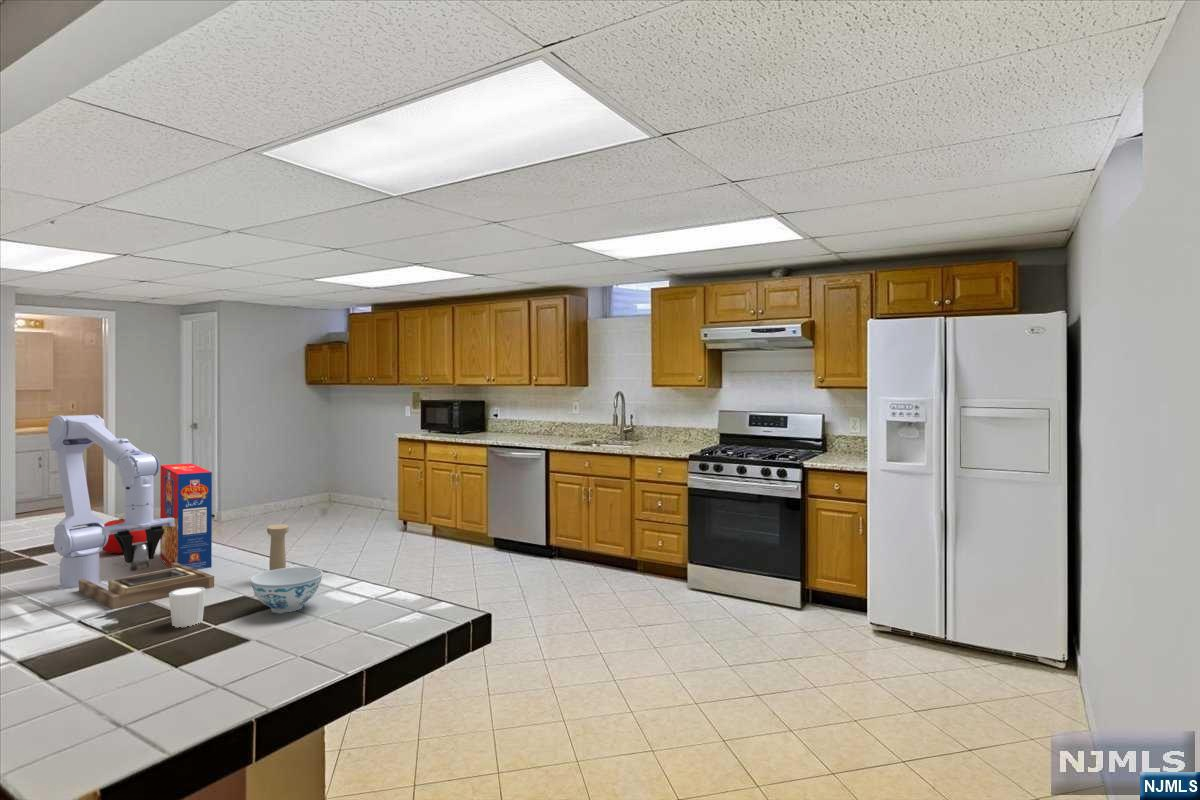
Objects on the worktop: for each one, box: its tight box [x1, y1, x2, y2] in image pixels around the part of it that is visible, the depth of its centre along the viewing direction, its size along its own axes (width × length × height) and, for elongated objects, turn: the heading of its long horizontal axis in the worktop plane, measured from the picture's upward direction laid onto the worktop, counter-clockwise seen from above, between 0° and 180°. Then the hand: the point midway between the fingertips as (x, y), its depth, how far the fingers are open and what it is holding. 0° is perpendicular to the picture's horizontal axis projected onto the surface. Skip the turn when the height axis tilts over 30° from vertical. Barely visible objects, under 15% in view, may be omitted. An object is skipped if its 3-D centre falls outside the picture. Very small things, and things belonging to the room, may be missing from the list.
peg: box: [128, 542, 150, 572], centre depth 159 cm, size 4×4×6 cm
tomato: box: [102, 518, 147, 554], centre depth 205 cm, size 14×13×10 cm
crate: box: [107, 567, 197, 595], centre depth 161 cm, size 11×15×4 cm
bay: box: [78, 562, 215, 610], centre depth 163 cm, size 22×21×4 cm
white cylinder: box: [168, 587, 207, 628], centre depth 143 cm, size 7×7×7 cm
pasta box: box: [159, 463, 213, 570], centre depth 191 cm, size 28×8×28 cm, turn 42°
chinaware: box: [250, 566, 323, 614], centre depth 153 cm, size 15×15×8 cm
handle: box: [266, 523, 289, 571], centre depth 173 cm, size 5×6×15 cm
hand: (139, 560), depth 159 cm, fingers closed on peg, 4 cm apart
